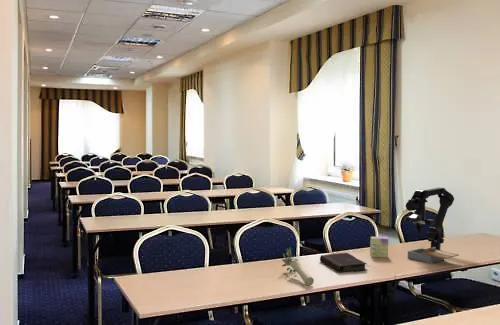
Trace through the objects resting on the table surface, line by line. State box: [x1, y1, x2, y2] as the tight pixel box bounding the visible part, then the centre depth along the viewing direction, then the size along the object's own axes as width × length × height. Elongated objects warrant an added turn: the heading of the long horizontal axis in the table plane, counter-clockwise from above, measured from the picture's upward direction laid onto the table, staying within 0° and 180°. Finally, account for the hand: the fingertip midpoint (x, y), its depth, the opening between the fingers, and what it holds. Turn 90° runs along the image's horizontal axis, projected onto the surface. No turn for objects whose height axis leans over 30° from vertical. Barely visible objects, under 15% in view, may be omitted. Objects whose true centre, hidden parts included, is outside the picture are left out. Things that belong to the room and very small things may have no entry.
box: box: [369, 236, 389, 258], centre depth 322 cm, size 10×6×12 cm, turn 84°
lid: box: [421, 247, 460, 260], centre depth 308 cm, size 14×16×3 cm
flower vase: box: [281, 247, 315, 287], centre depth 276 cm, size 12×12×35 cm
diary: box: [319, 252, 368, 274], centre depth 298 cm, size 19×25×5 cm
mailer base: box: [407, 247, 445, 265], centre depth 316 cm, size 14×16×4 cm
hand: (419, 233), depth 328 cm, fingers closed
